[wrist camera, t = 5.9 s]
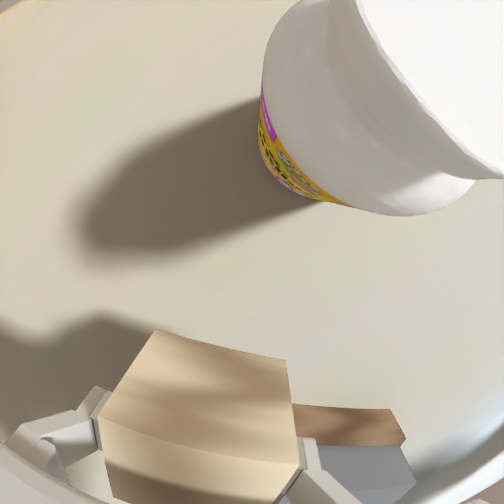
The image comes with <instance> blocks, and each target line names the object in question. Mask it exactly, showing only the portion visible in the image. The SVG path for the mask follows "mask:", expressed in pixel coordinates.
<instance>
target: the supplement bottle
mask: <svg viewBox="0 0 504 504" xmlns="http://www.w3.org/2000/svg"><path fill="white" fill-rule="evenodd" d="M257 133H258V145H259V150H260V153H261V156H262V158H263V161H264V163H265V164H266V166H267V168H268V169H269V171H270V172H271V173H272V175H273V176H274V177H275V178H276V179H277V180H278V181H279V182H280V183H281V184H282V185H284V186H285V187H286V188H288V189H290V190H291V191H293V192H295V193H297V194H299V195H302V196H305V197H309V198H312V199H317V200H322V201H326V202H331V203H336V204H340V205H344V206H349V207H353V208H357V209H361V210H365V211H368V212H372V213H377V214H382V215H388V216H415V215H423V214H427V213H430V212H433V211H436V210H439V209H441V208H443V207H445V206H447V205H449V204H451V203H453V202H454V201H456V200H457V199H458V198H459V197H461V196H462V195H463V194H464V193H465V192H466V191H467V190H468V189H469V188H470V187H471V186H472V184H473V183H474V182H475V181H476V180H480V179H504V0H300V1H299V2H297V3H296V4H295V5H294V6H292V7H291V8H290V9H289V10H288V11H287V12H286V13H285V14H284V15H283V17H282V18H281V19H280V21H279V22H278V23H277V25H276V26H275V29H274V30H273V32H272V34H271V36H270V39H269V41H268V44H267V48H266V52H265V56H264V63H263V72H262V86H261V96H260V107H259V118H258V132H257Z"/></svg>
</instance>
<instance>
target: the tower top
mask: <svg viewBox="0 0 504 504" xmlns="http://www.w3.org/2000/svg"><path fill="white" fill-rule="evenodd" d="M317 449H318V454H319V459H320V464H321V469H322V470H326V471H327V472H328V473H329V474H330V475H331V476H332V477H333V478H334V479H335V480H336V481H337V482H338V483H340V484H341V485H342V486H343V487H344V488H345V489H346V490H347V491H348V492H350V493H351V494H352V495H353V496H354V497H355V498H356V499H358V500H359V501H360V502H361V503H362V504H395V503H396V502H397V501H398V500H400V499H401V498H402V497H403V496H404V495H405V494H406V493H407V492H408V491H409V490H410V489H411V488H413V487H414V486H415V485H416V484H417V481H416V479H415V477H414V475H413V473H412V471H411V469H410V467H409V465H408V462H407V460H406V458H405V456H404V454H403V452H402V450H401V448H400V446H399V445H387V446H325V445H317ZM272 504H291V502H290V501H289V500H288V498H287V497H286V496H285V494H279V495H278V496H277V498H276V499H275V500H274V502H273V503H272Z"/></svg>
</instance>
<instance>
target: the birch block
mask: <svg viewBox="0 0 504 504" xmlns="http://www.w3.org/2000/svg"><path fill="white" fill-rule="evenodd" d="M97 417H98V425H99V431H100V438H101V443H102V449H103V454H104V459H105V464H106V469H107V473H108V478H109V482H110V486H111V490H112V493H113V497H115V498H117V499H120V500H122V501H125V502H128V503H131V504H272V503H273V502H274V500H275V499H276V498H277V496H278V495H279V494H280V492H281V491H282V490H283V488H284V487H285V485H286V484H287V483H288V481H289V480H290V478H291V477H292V476H293V474H294V473H295V471H296V470H297V468H298V467H299V465H300V461H299V453H298V446H297V438H296V431H295V424H294V416H293V409H292V402H291V395H290V388H289V381H288V374H287V368H286V361H285V360H281V359H276V358H270V357H265V356H260V355H256V354H251V353H246V352H242V351H237V350H233V349H229V348H224V347H220V346H216V345H212V344H208V343H204V342H200V341H197V340H193V339H189V338H185V337H182V336H178V335H175V334H171V333H168V332H164V331H161V330H158V329H155V331H154V332H153V334H152V335H151V337H150V338H149V339H148V341H147V342H146V344H145V345H144V347H143V348H142V350H141V351H140V353H139V354H138V355H137V357H136V358H135V360H134V361H133V363H132V364H131V366H130V367H129V369H128V370H127V372H126V373H125V375H124V376H123V378H122V379H121V381H120V382H119V384H118V385H117V387H116V388H115V390H114V391H113V393H112V394H111V396H110V397H109V399H108V400H107V402H106V403H105V405H104V406H103V408H102V410H101V411H100V413H99V414H98V416H97Z"/></svg>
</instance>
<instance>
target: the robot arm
mask: <svg viewBox="0 0 504 504" xmlns="http://www.w3.org/2000/svg"><path fill="white" fill-rule="evenodd" d="M112 393H113V392H110V391H108V390H105V389H103V388H101V387H98V386H95V387H93V388H92V389H91V391H90V392H89V393H88V395H87V396H86V397H85V399H84V400H83V401H82V403H81V404H80V405H79V407H78V408H77V409H76V411H74V410H69V411H66V412H62V413H59V414H56V415H52V416H49V417H45V418H42V419H38V420H34V421H30V422H27V423H23V424H21V425H20V426H19V427H18V429H17V430H16V431H15V432H14V433H13V434H12V436H11V437H10V438H9V439H8V440H7V441H6V443H5V444H3V443H2V442H1V441H0V504H109V503H106V502H104V501H102V500H99V499H97V498H95V497H92V496H90V495H88V494H86V493H84V492H82V491H80V490H78V489H76V488H74V487H72V486H70V485H68V484H69V480H68V477H67V475H66V473H65V471H64V467H66V466H68V465H70V464H72V463H74V462H76V461H78V460H80V459H82V458H84V457H86V456H88V455H89V454H91V453H93V452H95V451H97V449H99V450H101V451H103V449H102V443H101V438H100V431H99V425H98V417H97V416H98V414H99V413H100V411H101V410H102V408H103V406H104V405H105V403H106V402H107V400H108V399H109V397H110V396H111V394H112ZM296 438H297V446H298V453H299V461H300V465H299V467H298V468H297V470H296V471H295V473H294V474H293V476H292V477H291V478H290V480H289V481H288V483H287V484H286V485H285V487H284V488H283V490H282V491H281V492H280V494H285V496H286V497H287V498H288V500H289V501H290V502H291V504H362V503H361V502H360V501H359V500H358V499H356V498H355V497H354V496H353V495H352V494H351V493H350V492H348V491H347V490H346V489H345V488H344V487H343V486H342V485H341V484H340V483H338V482H337V481H336V480H335V479H334V478H333V477H332V476H331V475H330V474H329V473H328V472H327V471H326V470H322V469H321V464H320V459H319V454H318V449H317V445H316V440H315V439H314V438H306V437H296ZM467 504H489V503H487V502H485V501H483V500H475V501H471V502H469V503H467Z"/></svg>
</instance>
